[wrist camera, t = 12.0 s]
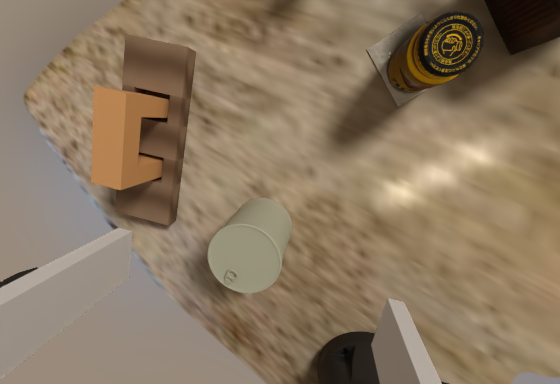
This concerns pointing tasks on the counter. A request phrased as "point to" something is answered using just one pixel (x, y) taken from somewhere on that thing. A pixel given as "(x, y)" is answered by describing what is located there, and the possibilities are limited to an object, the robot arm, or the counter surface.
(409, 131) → the counter surface
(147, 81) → the rail
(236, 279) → the can
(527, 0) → the manual coffee grinder
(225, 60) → the counter surface
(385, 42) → the condiment
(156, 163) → the orange block
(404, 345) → the robot arm
